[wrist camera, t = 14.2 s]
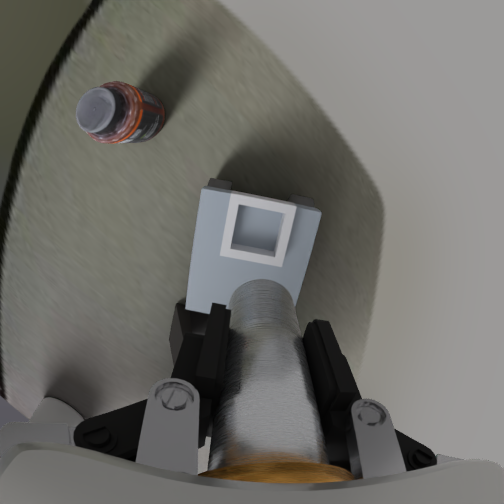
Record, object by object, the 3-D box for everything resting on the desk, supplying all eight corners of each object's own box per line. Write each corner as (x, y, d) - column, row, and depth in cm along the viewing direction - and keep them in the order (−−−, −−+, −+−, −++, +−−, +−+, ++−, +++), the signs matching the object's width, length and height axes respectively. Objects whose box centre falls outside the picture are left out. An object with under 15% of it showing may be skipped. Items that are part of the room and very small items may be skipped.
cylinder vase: (36, 388, 46) (-13, 467, 22) (82, 407, 47) (38, 499, 23) (51, 420, 50) (14, 493, 27) (94, 437, 51) (61, 519, 27)
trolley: (309, 195, 33) (327, 211, 25) (279, 309, 38) (285, 351, 30) (212, 175, 32) (199, 185, 24) (194, 294, 37) (180, 333, 29)
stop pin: (291, 347, 14) (321, 542, 5) (212, 335, 14) (177, 537, 5) (314, 277, 13) (398, 493, 4) (225, 260, 13) (178, 497, 3)
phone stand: (242, 321, 38) (239, 385, 27) (230, 353, 40) (224, 418, 29) (176, 302, 38) (151, 361, 26) (169, 336, 39) (146, 397, 28)
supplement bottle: (129, 89, 28) (80, 69, 18) (174, 100, 29) (137, 80, 18) (113, 136, 30) (58, 135, 20) (156, 149, 31) (112, 151, 20)
